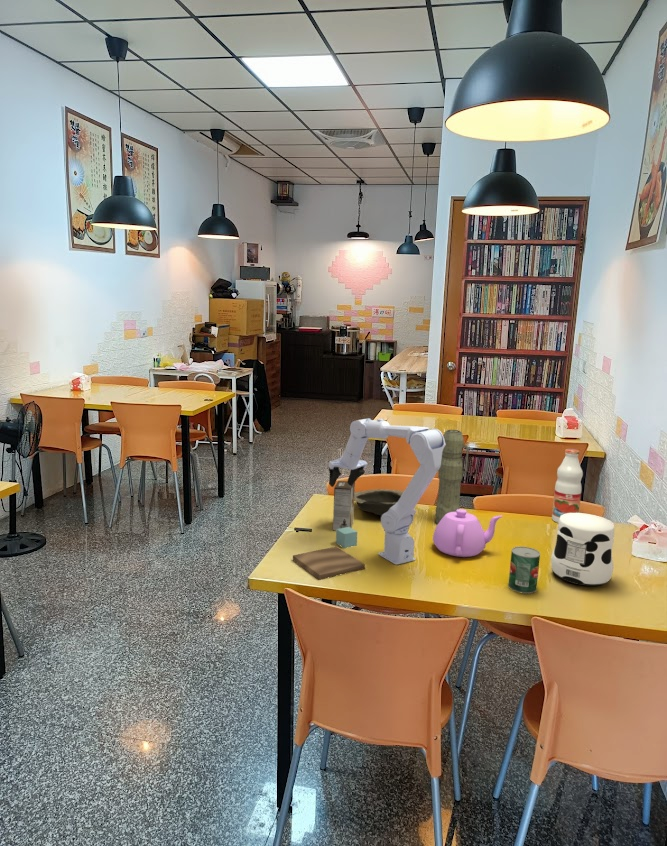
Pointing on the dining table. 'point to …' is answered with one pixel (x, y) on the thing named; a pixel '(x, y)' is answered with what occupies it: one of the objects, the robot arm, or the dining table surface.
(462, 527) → the teapot
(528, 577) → the canned tomato
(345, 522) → the coffee box
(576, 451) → the fruit juice
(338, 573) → the walnut board
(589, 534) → the milk container
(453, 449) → the thermos
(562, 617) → the dining table surface
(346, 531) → the teal cube
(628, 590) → the dining table surface
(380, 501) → the stone bowl
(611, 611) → the dining table surface
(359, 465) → the robot arm
